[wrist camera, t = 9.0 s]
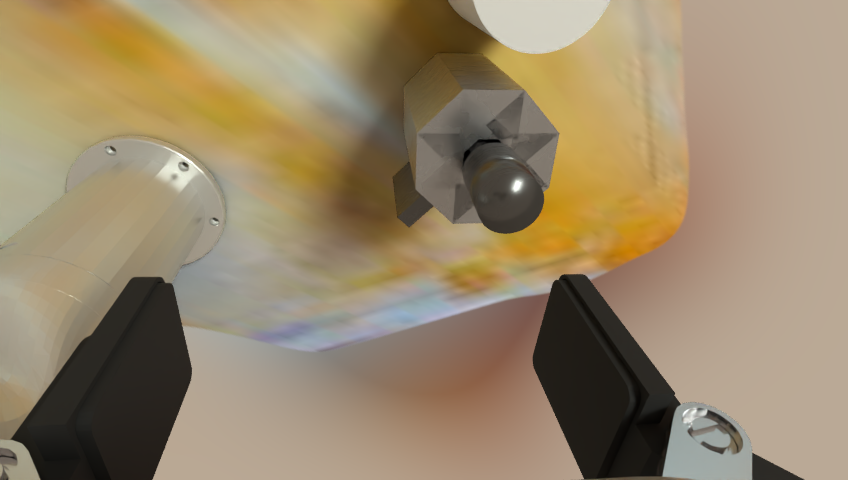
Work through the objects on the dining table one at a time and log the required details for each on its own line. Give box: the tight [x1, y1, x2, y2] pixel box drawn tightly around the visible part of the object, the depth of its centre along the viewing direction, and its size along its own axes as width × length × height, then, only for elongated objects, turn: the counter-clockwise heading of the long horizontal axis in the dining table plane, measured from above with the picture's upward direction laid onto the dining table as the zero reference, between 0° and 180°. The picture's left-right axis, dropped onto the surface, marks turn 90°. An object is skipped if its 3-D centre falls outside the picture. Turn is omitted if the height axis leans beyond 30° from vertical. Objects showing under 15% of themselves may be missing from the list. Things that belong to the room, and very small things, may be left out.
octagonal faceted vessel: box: [393, 53, 559, 227], centre depth 35 cm, size 12×9×12 cm
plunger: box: [462, 139, 544, 234], centre depth 32 cm, size 4×4×17 cm
